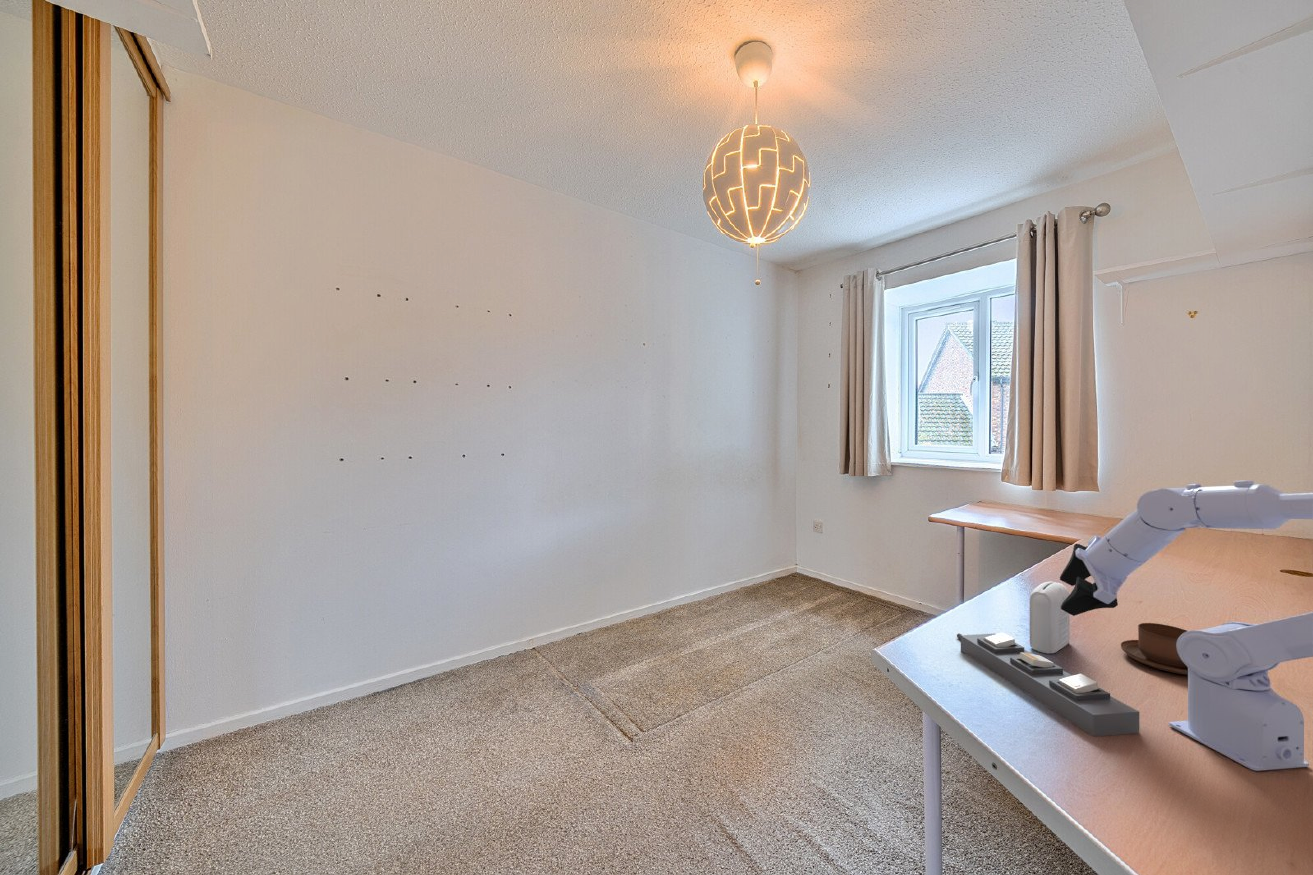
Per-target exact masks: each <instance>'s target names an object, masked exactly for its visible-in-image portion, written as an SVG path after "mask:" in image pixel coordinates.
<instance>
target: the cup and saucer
mask: <svg viewBox="0 0 1313 875" xmlns="http://www.w3.org/2000/svg"><path fill="white" fill-rule="evenodd" d="M1137 628H1138V629H1137V631H1138V633H1137V634H1138V639H1128V640H1124V641H1122V642H1120V648H1121V650H1122V651H1123V652H1124V653H1125V654H1126V655H1127V656H1129V657H1130V659H1131V658H1132V659H1133V660H1135V661H1136V662H1139V663H1141V664H1144V665H1146V666H1149V667H1151V668H1154V669H1157V670H1161V671H1164V672H1169V673H1173V674H1177V675H1179V674H1180V675H1185V676H1188V667H1187V666H1186V665H1185V664H1184V662H1183V661H1182V660H1181V658H1180V657H1179V655H1178V652H1177V648H1176V643H1177V640H1178V638H1179V637H1180V635H1182V634H1183V633H1185V632H1187V631H1188V630H1186V629H1183V628H1180V627H1177V626H1172V625H1168V624H1161V623H1157V622H1156V623H1154V622H1144V623H1139V624H1138V625H1137Z"/></svg>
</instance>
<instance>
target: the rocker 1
mask: <svg viewBox="0 0 1313 875" xmlns="http://www.w3.org/2000/svg"><path fill="white" fill-rule="evenodd" d="M995 634H996V635H992V636H989V637H985V641H986V642H988V643H989V644H991V645H993V646H995V647H1007V646H1010V645H1014V644H1015V643H1016V641H1015V638H1014V637H1013V636H1010V635H1009V634H1006V633H1004V632H1000V633H999V632H998V633H995Z"/></svg>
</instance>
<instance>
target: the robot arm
mask: <svg viewBox="0 0 1313 875" xmlns="http://www.w3.org/2000/svg"><path fill="white" fill-rule="evenodd" d="M1254 482H1255V481H1254V480H1253V479H1252V480H1250V479H1249V480H1246V479H1245V480H1234V481H1233V482H1232V484H1233V485H1218V486H1217V485H1215V486H1202V485H1201V484H1200V483H1192V484H1187V485H1186V487H1172V488H1164V487H1162V488H1161V487H1160V488H1158V489H1153V490H1149V491H1147V492H1145V493H1143V494H1142V495H1141V496H1140V497H1139V499H1138V501H1137V503H1136V509H1135V510H1134V511H1133V512H1132V513H1130V514H1127V516H1126V517H1125V518H1123V519H1122V520H1121V521H1119V523H1118V524H1116V525H1115V526H1114V527H1113V528H1112V529H1111V530H1110V531H1109V532H1107V533H1106V534H1105V535H1104V536H1103V537H1100V536H1098V535H1094V536H1093V537H1092V538H1091V539H1089V541H1087V546H1084V545H1082V544H1080V543H1075V544H1074V545H1073V549H1072V554H1071V557H1070V558H1069V561H1068V563H1067V564H1066V566H1065V568H1064V569H1063V571H1062V573H1061V574H1060V576H1059V580H1060V581H1062V582H1063V583H1065V584H1067V585H1070V586H1071V587H1073V589H1072V591H1071V592H1070V593H1069V594H1070V595H1069V596H1068V597H1067V598H1066V599H1065V600H1064V602H1063V603H1062V605H1061V609H1062V610H1063V611H1065V612H1067V613H1069V614H1070V616H1073V617H1074V616H1078V615H1081V614H1083V613H1087V612H1090V611H1093V610H1099V609H1114V608H1116V607H1118V604H1119V603H1118V592H1119V590H1120V588H1121V587H1122V586H1123V584H1124V583H1125V582H1126V580H1127V578H1128V576H1130V575H1131V574H1132V573H1133V572H1135V571H1136V570H1137V569H1139V568H1140V567H1142V566H1143V565H1144V564H1145V563H1147V562H1148V561H1149V560H1151V559H1152V558H1153V557H1155V555H1157V554H1158V553H1159V552H1160V551H1162V550H1164V549H1165V548H1166V547H1167V546H1168V545H1170V544H1171V543H1172V542H1173V541H1174V540H1175V539H1177V538H1178V537H1179V536H1181V534H1183V533H1184V532H1185V531H1187V530H1186V528H1187V529H1189V528H1198V527H1199V528H1200V527H1201V528H1205V529H1226V530H1227V529H1228V530H1229V529H1230V530H1232V529H1233V530H1234V529H1237V530H1247V529H1248V530H1277V529H1278V528H1280V527H1282V526H1283V525H1284V524H1285V523H1286V522H1288V521H1289V520H1313V492H1299V493H1285V492H1283V491H1281V490H1279V489H1277V488H1275V487H1273V486H1271V485H1268V484H1267V483H1266V484H1265V483H1259V484H1257V483H1256V484H1255V483H1254ZM1089 577H1091V578H1092V579H1093V582H1090V581H1088V580H1087V579H1088V578H1089ZM1176 648H1177V652H1178V655H1179V657H1180V658H1181V660H1182V661H1183V662H1184V664H1185V665H1186V666H1187V667H1188V675H1187V720H1176V721H1169V722H1168V725H1169V726H1170V727H1171V728H1173V729H1175V730H1177V731H1179V732H1181V733H1182V734H1184V735H1186V736H1188V737H1190V738H1192V739H1193V740H1195V741H1198V742H1199V743H1201V744H1203V745H1205V746H1206V747H1209V749H1210V748H1211V749H1213V750H1214V751H1216V752H1218V753H1220V754H1222V755H1224V756H1225V757H1227V758H1229V759H1231V760H1233V761H1235V762H1236V763H1239V764H1240V765H1243V766H1244V767H1246V768H1248V769H1250V770H1252V771H1254V772H1255V771H1256V772H1257V771H1259V772H1260V771H1269V770H1272V771H1273V770H1282V769H1285V770H1286V769H1296V768H1307V767H1310V763H1309V762H1308V761H1307V760H1305V753H1304V752H1305V750H1304V749H1305V719H1304V714H1303V712H1302V710H1301V709H1300V707H1299V706H1298V705H1297V704H1295V703H1294V702H1292V701H1290V700H1288V699H1286V698H1285V697H1282V695H1280V694H1278V693H1277V692H1275V691H1274V689H1273V688H1272V687H1271V679H1270V677H1269V675H1268V674H1269V671H1271V670H1274V669H1276V668H1277V667H1278V666H1279V665H1280V664H1281V663H1285V662H1289V661H1294V660H1295V661H1296V660H1300V659H1301V660H1302V659H1305V658H1306V659H1307V658H1313V611H1311V612H1306V613H1303V614H1298V615H1293V616H1288V617H1285V618H1280V619H1274V620H1271V621H1266V622H1261V623H1247V622H1242V621H1229V622H1225V623H1221V624H1220V625H1217V626H1212V627H1208V628H1204V629H1203V628H1202V629H1192V630H1187V632H1185V633H1183V634H1182V635H1180V637H1179V638H1178V640H1177V643H1176Z"/></svg>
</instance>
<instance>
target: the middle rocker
mask: <svg viewBox="0 0 1313 875" xmlns="http://www.w3.org/2000/svg"><path fill="white" fill-rule="evenodd" d="M1019 658H1020V659H1022V660H1024V661H1025V662H1027V663H1029V664H1031V665H1032V666H1038V667H1053V664H1055V662H1053V661H1051V660H1049V659H1047V658H1045V657H1044V656H1042V655H1039V654H1033V653H1032V654H1028V653H1022V652H1020V657H1019Z"/></svg>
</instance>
